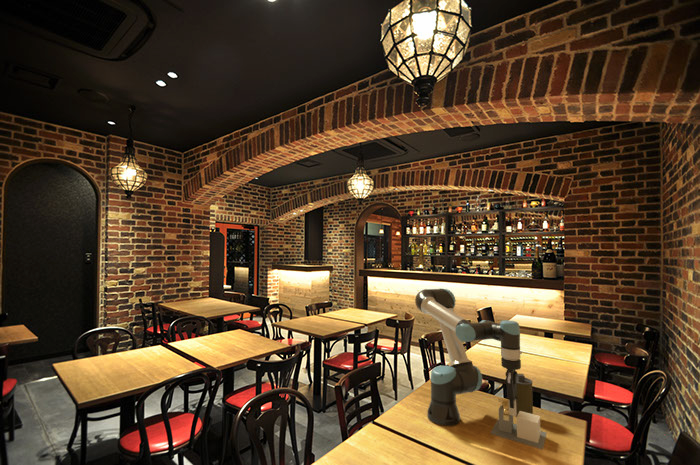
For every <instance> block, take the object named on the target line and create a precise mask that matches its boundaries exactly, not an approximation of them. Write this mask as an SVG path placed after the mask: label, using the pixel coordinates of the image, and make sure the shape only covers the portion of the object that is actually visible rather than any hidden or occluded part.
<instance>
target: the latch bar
mask: <svg viewBox="0 0 700 465" xmlns="http://www.w3.org/2000/svg"><path fill="white" fill-rule="evenodd" d="M497 401H498V402H500V403H501V405H502V408H503V415H504V420H506V421H509V410H508V409H509V402H508V399H506V398H500V397H498V398H497Z"/></svg>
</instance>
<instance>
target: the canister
mask: <svg viewBox="0 0 700 465" xmlns="http://www.w3.org/2000/svg"><path fill="white" fill-rule="evenodd" d="M516 397H518V399H516V416H515V418H517V416H518V413H519V411H522V412H526V413H530V414H534V406H533V403H534V402H533V381H532V379H530V378H527V377H526V376H525V374H524V373H518V372H517V395H516Z"/></svg>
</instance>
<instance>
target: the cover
mask: <svg viewBox="0 0 700 465" xmlns="http://www.w3.org/2000/svg"><path fill="white" fill-rule="evenodd" d="M516 424H517V437H519V438H522V439H526V440H529V441H532V442H536V443H538V442H539V439H540V431H541V416H540V415H537V414H534V413H533V414H530V413H526V412H522V411H519V413H518V416H517V417H516Z"/></svg>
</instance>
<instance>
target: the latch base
mask: <svg viewBox="0 0 700 465" xmlns="http://www.w3.org/2000/svg"><path fill="white" fill-rule="evenodd" d="M508 410H509V409H508ZM496 420H497V421H496V422H495V424H494V426H493V428H492V429H491V431H490V435H495V436H497V437H500V438H504V439H508V440H511V441H514V442H516V443H520V444H524V445H527V446H530V447H533V448H537V449H540V450H543V449H544V446H545V443H546V442H545V441H546V437H547V434H548V433H547V432H546V431H542V430H540V439H539V442H538V443H536V442H532V441H529V440H526V439H522V438H519V437H517V423H514V416H512V415H509V421H506V420H504V415H503V408H502V404H501V405H500V406H499V407H498V419H496Z"/></svg>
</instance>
